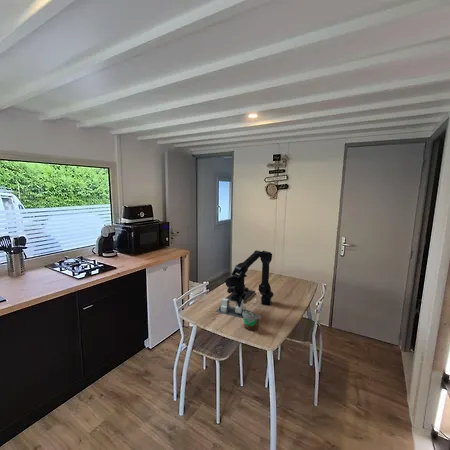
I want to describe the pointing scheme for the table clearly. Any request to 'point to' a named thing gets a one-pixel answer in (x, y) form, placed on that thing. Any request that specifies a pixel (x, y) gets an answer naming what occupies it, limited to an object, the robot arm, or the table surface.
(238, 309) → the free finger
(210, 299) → the table surface
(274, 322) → the table surface
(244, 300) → the hardcover book
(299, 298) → the table surface
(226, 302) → the block
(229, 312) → the rail
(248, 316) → the food container
